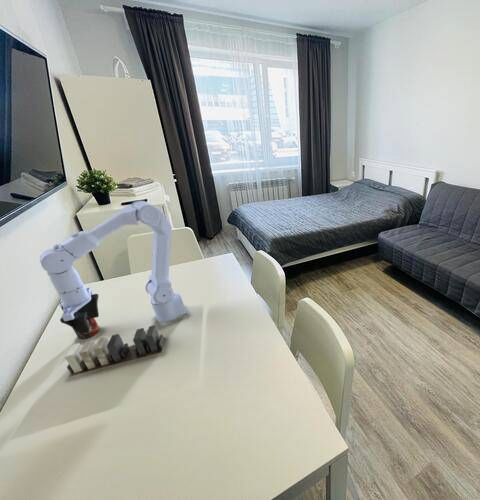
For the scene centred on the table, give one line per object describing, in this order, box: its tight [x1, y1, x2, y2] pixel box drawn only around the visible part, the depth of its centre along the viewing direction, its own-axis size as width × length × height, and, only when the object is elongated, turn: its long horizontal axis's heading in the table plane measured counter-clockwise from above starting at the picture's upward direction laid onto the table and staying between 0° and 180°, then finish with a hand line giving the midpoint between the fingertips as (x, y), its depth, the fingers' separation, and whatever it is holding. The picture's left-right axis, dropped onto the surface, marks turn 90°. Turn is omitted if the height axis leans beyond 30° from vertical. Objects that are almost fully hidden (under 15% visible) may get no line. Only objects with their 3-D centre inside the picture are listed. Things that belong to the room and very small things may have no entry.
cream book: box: [64, 342, 83, 373], centre depth 80 cm, size 2×5×6 cm, turn 22°
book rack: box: [66, 324, 166, 378], centre depth 83 cm, size 24×7×8 cm, turn 112°
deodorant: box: [58, 300, 101, 341], centre depth 91 cm, size 6×6×15 cm
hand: (90, 324), depth 84 cm, fingers open, 7 cm apart
